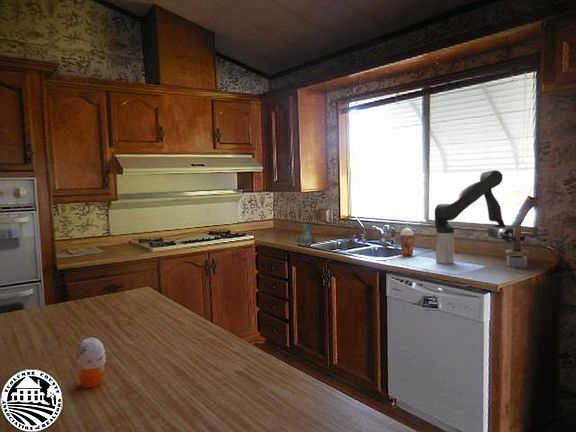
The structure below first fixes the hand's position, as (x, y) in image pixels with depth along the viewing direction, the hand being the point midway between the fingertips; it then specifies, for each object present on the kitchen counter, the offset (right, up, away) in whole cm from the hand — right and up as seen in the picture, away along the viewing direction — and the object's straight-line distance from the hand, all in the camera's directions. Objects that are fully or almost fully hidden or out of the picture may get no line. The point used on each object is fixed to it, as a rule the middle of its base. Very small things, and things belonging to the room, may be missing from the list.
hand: (519, 238), depth 227 cm
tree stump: (-108, -10, +115) cm, 158 cm away
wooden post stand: (+1, -8, +3) cm, 9 cm away
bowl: (+1, -15, +4) cm, 15 cm away
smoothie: (-46, -13, +46) cm, 66 cm away
